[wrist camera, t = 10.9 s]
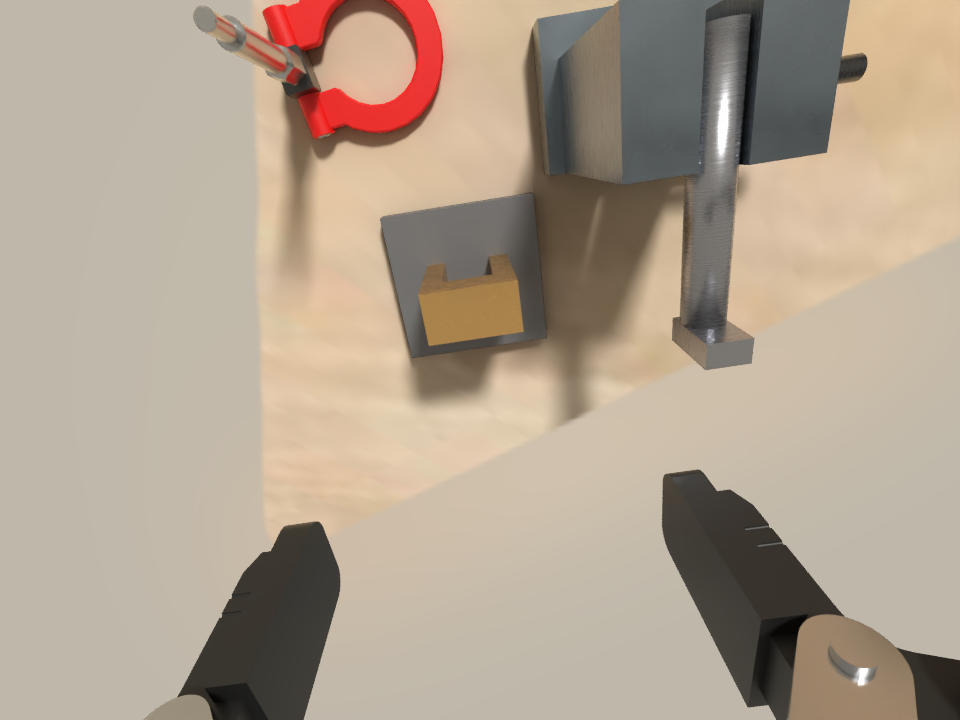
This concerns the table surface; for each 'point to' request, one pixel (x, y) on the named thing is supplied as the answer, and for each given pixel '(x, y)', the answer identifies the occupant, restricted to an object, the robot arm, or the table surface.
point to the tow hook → (293, 68)
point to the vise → (692, 117)
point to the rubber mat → (466, 260)
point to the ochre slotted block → (470, 303)
